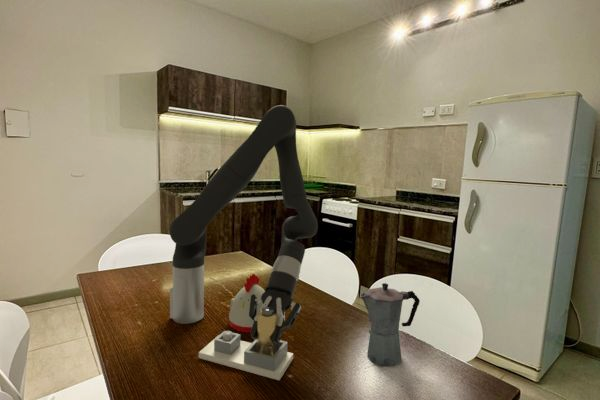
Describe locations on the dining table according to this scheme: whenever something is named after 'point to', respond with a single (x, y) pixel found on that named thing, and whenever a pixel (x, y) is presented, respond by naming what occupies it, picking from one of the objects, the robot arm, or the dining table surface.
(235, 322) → the kitchen timer
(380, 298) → the moka pot
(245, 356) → the white tray
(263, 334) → the gold bottle
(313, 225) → the robot arm
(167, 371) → the dining table surface
